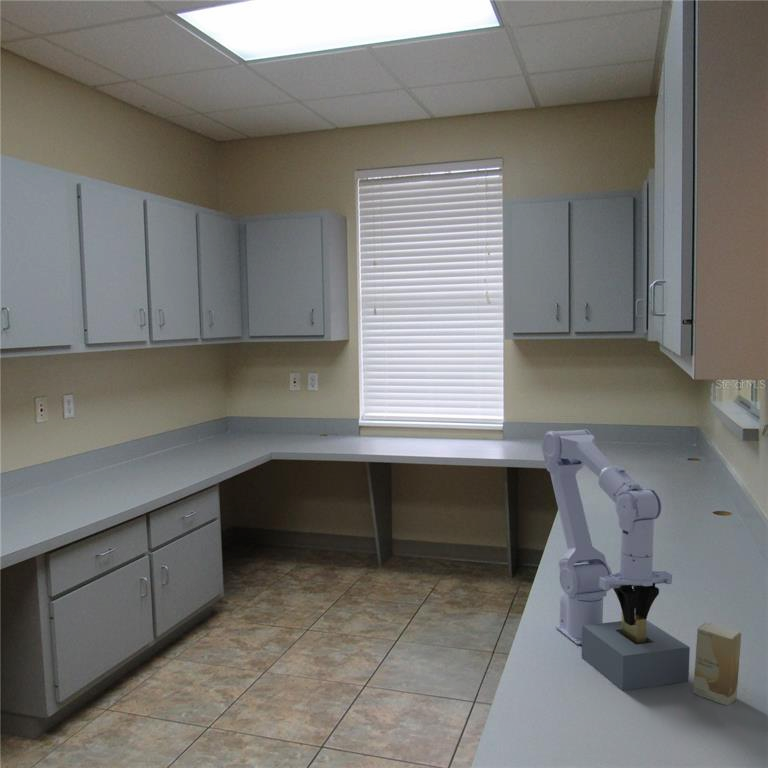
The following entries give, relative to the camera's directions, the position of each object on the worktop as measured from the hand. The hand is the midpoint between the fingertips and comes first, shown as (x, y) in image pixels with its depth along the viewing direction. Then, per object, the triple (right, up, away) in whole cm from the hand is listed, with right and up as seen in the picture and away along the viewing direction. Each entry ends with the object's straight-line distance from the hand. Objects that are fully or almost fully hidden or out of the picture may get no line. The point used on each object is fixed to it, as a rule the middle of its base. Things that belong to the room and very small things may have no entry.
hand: (634, 622), depth 141 cm
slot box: (0, -9, +1) cm, 9 cm away
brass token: (0, -4, 0) cm, 4 cm away
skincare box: (+11, -10, -10) cm, 18 cm away
